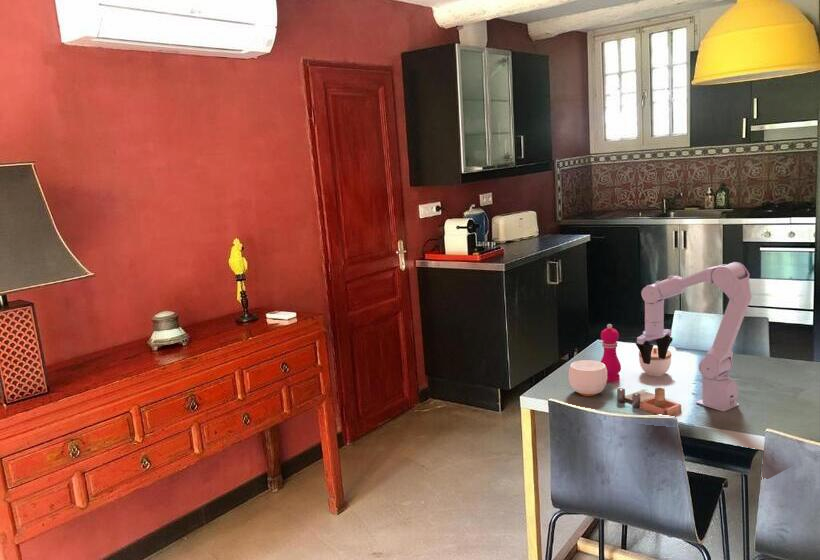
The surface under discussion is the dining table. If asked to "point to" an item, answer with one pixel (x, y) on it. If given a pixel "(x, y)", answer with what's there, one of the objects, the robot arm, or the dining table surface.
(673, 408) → the dish
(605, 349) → the pepper mill
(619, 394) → the bench dogs
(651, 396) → the tan flat wooden block
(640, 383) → the dining table surface
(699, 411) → the dining table surface
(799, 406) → the dining table surface
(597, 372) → the cup
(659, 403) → the dowel
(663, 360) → the lidded jar
